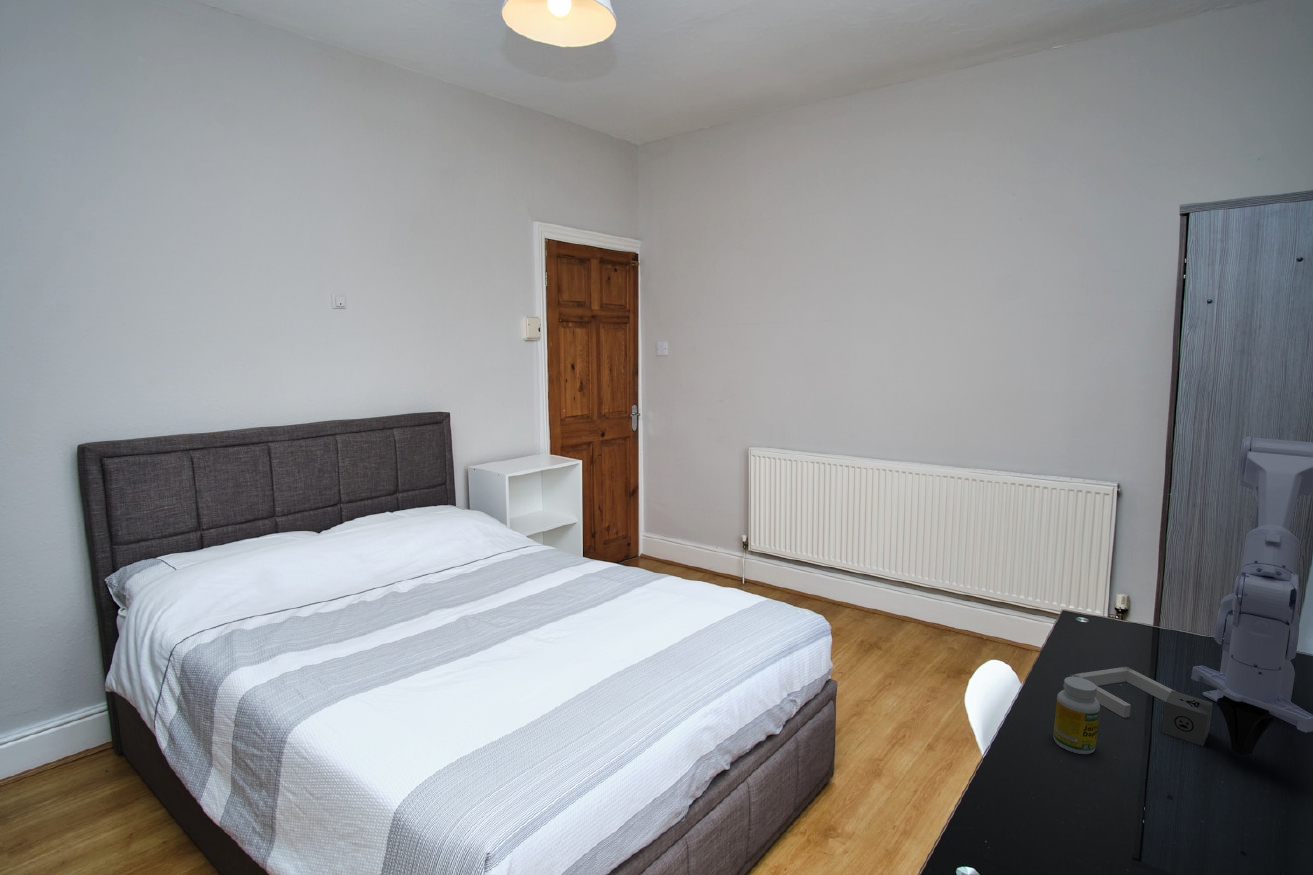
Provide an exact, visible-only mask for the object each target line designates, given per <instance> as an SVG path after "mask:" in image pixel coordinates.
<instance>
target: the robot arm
mask: <svg viewBox="0 0 1313 875" xmlns="http://www.w3.org/2000/svg"><path fill="white" fill-rule="evenodd" d="M1237 473H1238V478H1237V480H1238V481H1240V482H1239V485H1240V486H1242V487H1244V488H1246V489H1250V490H1251V491H1252V492H1253V494H1254V497H1255V499H1256V500H1255V502H1256V506H1255V507H1256V508H1255V514H1254V515H1255V516H1254V522H1253V527H1252V528H1253V529H1252V530H1249V531H1248V532H1247V533H1246V535H1245V540H1244V547H1243V554H1242V560H1241V566H1240V567H1241V568H1240V574H1239V575H1237V576H1236V578H1235V582H1234V590H1233V593H1230V594H1227V595H1225V596H1223V598H1222V599H1221V600H1220V604H1219V608H1218V612H1217V617H1216V624H1215V632H1214V641H1215V642H1216V643H1217V644H1218V645H1222V654H1221V663H1220V669H1219V671H1218V670H1215V669H1212V668H1209V667H1207V666H1205V665H1196V666H1192V669H1191V670H1192V672H1191V676H1190V677H1191V680H1193V681H1195V682H1198V683H1201V682H1202V683H1204V684H1206V685H1208V686H1210V687H1212V688H1214V690H1213V689H1212V690H1209V691H1208V690H1207V691H1203V692H1202V695H1203V696H1204V697H1205V698H1208V699H1210V700H1212V701H1214V702H1216V704H1217V706H1218V707H1219V710H1220V711H1221V713H1222V716H1223V717H1224V718H1223V719H1224V720H1225V723H1226V726H1227V729H1228V734H1229V738H1230V739H1229V740H1230V745H1231V750H1232V751H1233V752H1236V753H1238V754H1239V755H1242V756H1243V755H1244V756H1245V755H1247V754H1248V755H1249V754H1252V753H1253V751H1254V749H1255V747H1256V745H1257V743H1258V742H1259V740H1260V739H1261V737H1262V735H1263V734H1264V733H1265V732H1266V730H1268V728H1270V726H1271V725H1273V724H1274V723H1275V722H1276V721H1278V720H1279V719H1281V720H1283V721H1284V722H1287V723H1288V724H1290V725H1294V726H1295V727H1296V729H1297V730H1299V731H1300V732H1303V733H1310V732H1311V733H1312V732H1313V713H1310V712H1308V711H1306V709H1303V708H1301V707H1300V706H1298V705H1297V704H1295V703H1294V702H1292V701H1291V700H1292V695H1293V688H1294V682H1295V676H1296V674H1295V672H1296V671H1295V668H1294V665H1293V663H1292V660H1293V659H1295V658H1296V655H1297V651H1298V644H1299V638H1300V637H1299V636H1300V620H1301V618H1300V615H1299V613H1298V611H1299V604H1300V597H1301V596H1300V594H1301V590H1300V589H1301V588H1300V584H1299V574H1298V564H1299V555H1300V546H1301V545H1300V542H1301V541H1300V540H1299V538H1298V537H1296V535H1294V534H1293V533H1292V532H1291V531H1290V530H1291V524H1292V522H1293V516H1294V513H1295V509H1296V505H1297V503H1298V502H1297V501H1298V499H1299V498H1300V497H1303V496H1309V495H1313V441H1302V440H1300V441H1299V440H1289V439H1276V438H1265V437H1263V438H1262V437H1252V436H1251V435H1247V436H1245V437H1244V438H1242V440H1241V446H1240V454H1239V460H1238V468H1237Z"/></svg>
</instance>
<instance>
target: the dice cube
mask: <svg viewBox="0 0 1313 875" xmlns="http://www.w3.org/2000/svg"><path fill="white" fill-rule="evenodd" d="M1212 711H1213V702H1211V701H1208V700H1205V699H1201V698H1198V697H1195V696H1192V695H1189V694H1185V693H1181V692H1180V691H1176V690H1174V691H1171V693H1170V695H1169V696H1168V698H1167V700H1166V702H1164V711H1163V718H1162V724H1161V725H1162V726H1161V733H1163V734H1166V735H1169V736H1172V737H1175V738H1178V739H1180V740H1183V741H1186V742H1189V743H1192V744H1195V745H1197V746H1200V745H1201V747H1205V743H1206V741H1207V739H1208V736H1209V734H1208V733H1210V727H1211V726H1210V725H1211V721H1212V720H1211V719H1212V713H1213V712H1212ZM1206 738H1207V739H1206Z"/></svg>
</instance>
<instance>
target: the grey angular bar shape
mask: <svg viewBox="0 0 1313 875" xmlns="http://www.w3.org/2000/svg"><path fill="white" fill-rule="evenodd" d="M1069 677H1079V678H1083V679H1086V680H1089V681H1091V682H1092V683H1094V684H1095V685H1096V687H1097V692H1096V696H1095V698H1096V699H1097V700H1098V702H1099V704H1100V706H1103V707H1105V708H1106V709H1107V710H1110V711H1111V712H1113V713H1115V714H1117V715H1118V716H1120V717H1122V718H1123V719H1124V718H1126V719H1127V718H1130V715H1131V707H1132V705H1131V704H1130V703H1129V702H1126V701H1124V700H1123V699H1121V698H1120V697H1118V696H1115V695H1114V694H1112V693H1110V692H1108V691H1107V690H1105V689H1103V688H1101V687H1099V686H1105V685H1112V684H1118V683H1125V682H1126V683H1128V684H1130V685H1131V686H1134V687H1136V688H1138V689H1139V690H1142V691H1143V692H1146V693H1147V694H1149V695H1151V696H1153V697H1154V698H1157V699H1158V700H1161V701H1162V702H1164V703H1165V702H1166V700H1167V698H1168V696H1169V695H1170V693H1171V691H1175V689H1172V688H1170V687H1168V686H1165V685H1164V684H1162V683H1160V682H1158V681H1156V680H1154V679H1152V678H1149V677H1147V676H1146V675H1143V674H1142V673H1140V672H1138V671H1136V670H1134V669H1132V668H1130V667H1128V666H1121V667H1115V668H1108V669H1102V670H1094V671H1093V670H1092V671H1089V672H1087V671H1086V672H1080V673H1073V674H1069Z"/></svg>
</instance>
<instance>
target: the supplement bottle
mask: <svg viewBox="0 0 1313 875" xmlns="http://www.w3.org/2000/svg"><path fill="white" fill-rule="evenodd" d="M1096 692H1097V687H1096V685H1095V684H1094V683H1092V682H1091V681H1089V680H1086V679H1083V678H1079V677H1070V676H1067V677H1065V678H1064V680H1063V689H1062V690H1060V691H1059V692H1058V694H1057V696H1056V705H1055V706H1056V707H1055V715H1054V717H1055V718H1054V725H1053V726H1054V727H1053V735H1052V736H1053V739H1054V742H1055V743H1056V744H1057V745H1058V746H1059V747H1060V748H1062V749H1064V750H1066V751H1068V752H1071V753H1074V754H1078V755H1090V754H1092V753H1094V752H1095V750H1096V747H1097V740H1098V739H1097V738H1098V732H1099V723H1100V721H1099V720H1100V715H1101V714H1100V713H1101V704H1099V702H1098V700H1097V699H1096V698H1095V696H1096Z"/></svg>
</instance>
